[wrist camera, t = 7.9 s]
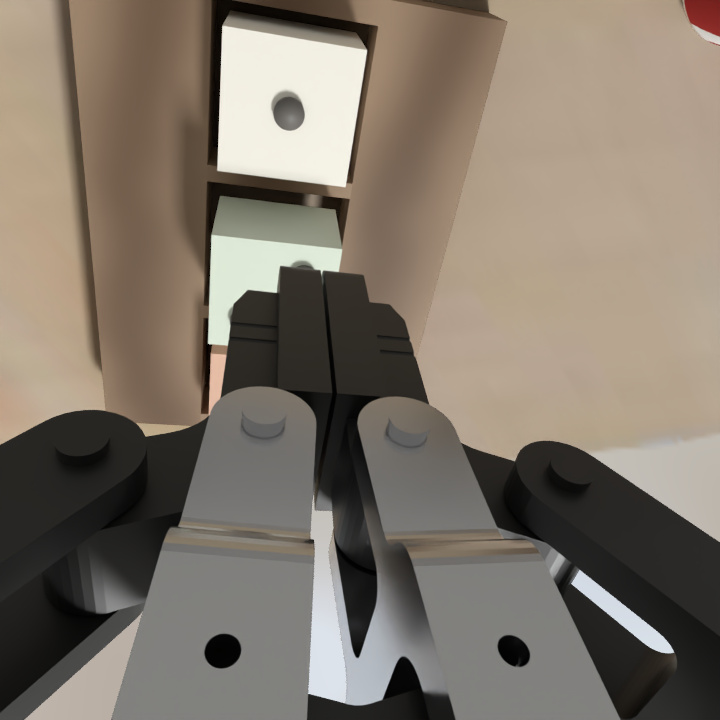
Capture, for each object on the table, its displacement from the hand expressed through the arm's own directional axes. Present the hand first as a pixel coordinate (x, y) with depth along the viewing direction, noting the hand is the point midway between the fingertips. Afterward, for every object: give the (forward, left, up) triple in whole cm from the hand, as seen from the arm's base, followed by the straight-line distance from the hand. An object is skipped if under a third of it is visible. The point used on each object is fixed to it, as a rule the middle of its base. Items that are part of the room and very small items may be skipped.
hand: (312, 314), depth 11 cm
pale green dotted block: (0, +5, -13) cm, 14 cm away
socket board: (0, +5, -15) cm, 16 cm away
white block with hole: (0, -1, -15) cm, 15 cm away
